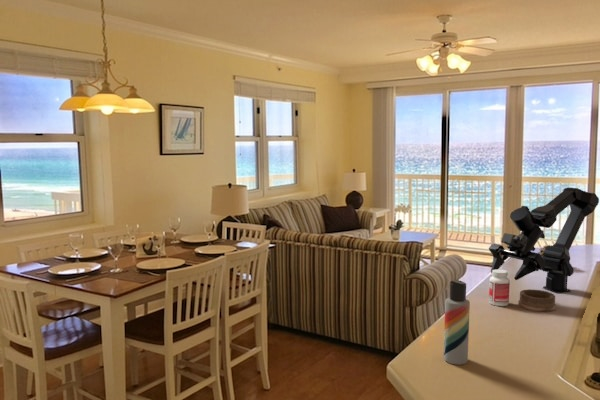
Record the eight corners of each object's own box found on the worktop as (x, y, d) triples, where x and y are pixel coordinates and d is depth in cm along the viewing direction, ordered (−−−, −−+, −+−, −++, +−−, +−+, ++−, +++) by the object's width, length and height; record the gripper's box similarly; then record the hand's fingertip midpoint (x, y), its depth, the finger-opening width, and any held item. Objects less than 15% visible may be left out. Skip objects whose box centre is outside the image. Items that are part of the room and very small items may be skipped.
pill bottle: (512, 304, 163) (514, 271, 162) (501, 308, 160) (502, 274, 159) (496, 299, 168) (497, 267, 167) (484, 302, 165) (485, 270, 164)
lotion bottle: (440, 355, 125) (442, 277, 122) (462, 354, 125) (464, 277, 123) (448, 365, 119) (451, 284, 117) (471, 364, 119) (474, 283, 117)
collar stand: (537, 299, 168) (538, 287, 168) (563, 309, 158) (564, 297, 157) (510, 302, 165) (511, 290, 165) (535, 313, 155) (536, 301, 154)
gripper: (493, 220, 173) (469, 255, 169) (542, 228, 156) (516, 267, 152) (507, 240, 177) (484, 275, 173) (556, 250, 161) (532, 288, 157)
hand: (503, 275), depth 164 cm, fingers open, 9 cm apart
